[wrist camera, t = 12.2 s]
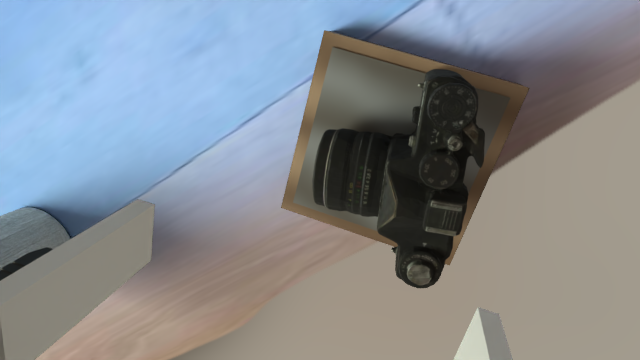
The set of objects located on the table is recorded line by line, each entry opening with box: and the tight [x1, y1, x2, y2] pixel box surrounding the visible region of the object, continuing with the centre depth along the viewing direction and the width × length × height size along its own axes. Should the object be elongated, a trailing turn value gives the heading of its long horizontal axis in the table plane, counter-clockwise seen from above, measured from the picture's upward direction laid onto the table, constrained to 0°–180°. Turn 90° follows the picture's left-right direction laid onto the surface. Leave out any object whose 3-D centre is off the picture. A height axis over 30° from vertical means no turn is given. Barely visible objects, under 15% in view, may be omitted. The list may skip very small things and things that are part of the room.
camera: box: [312, 69, 485, 288], centre depth 28 cm, size 14×11×10 cm
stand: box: [281, 31, 529, 265], centre depth 35 cm, size 16×16×3 cm
